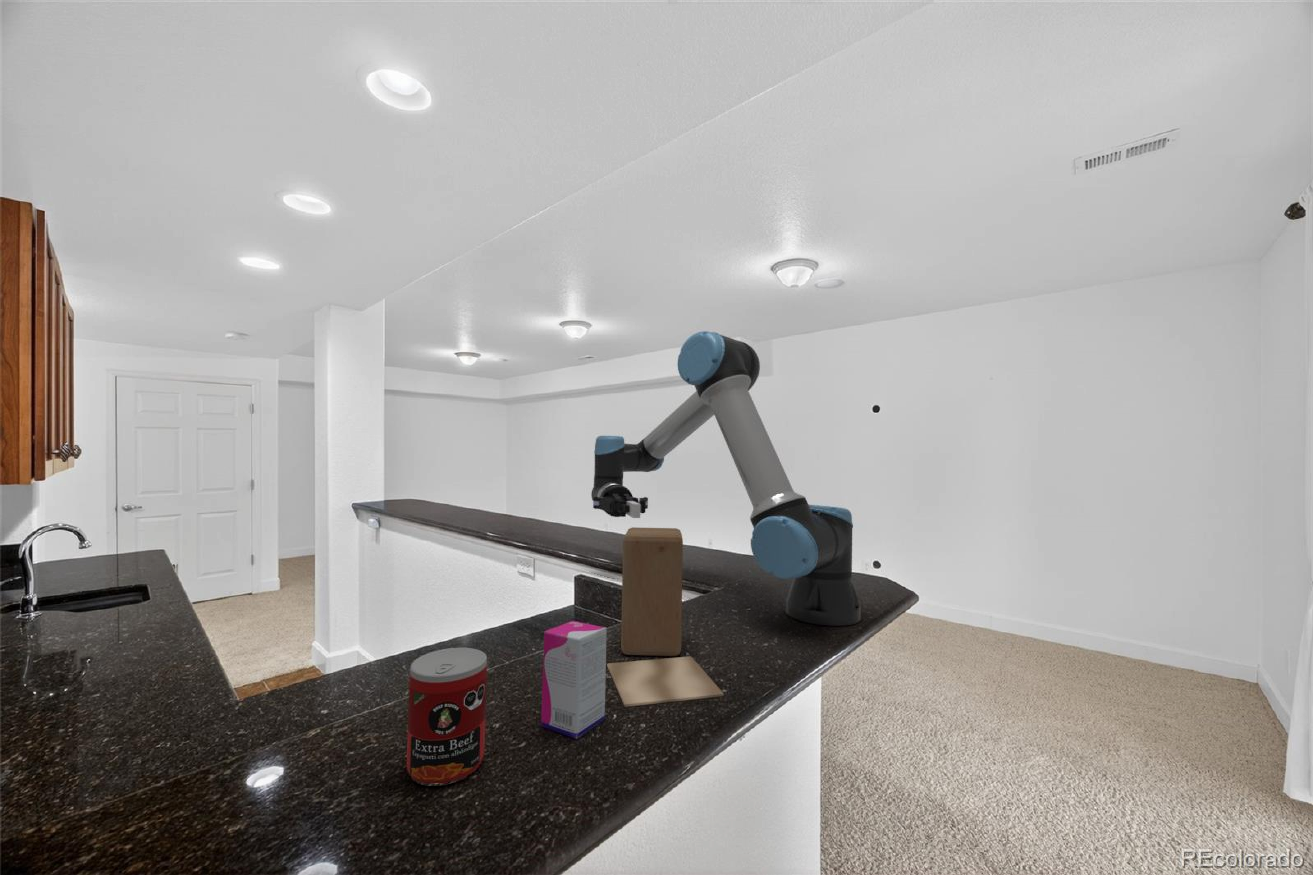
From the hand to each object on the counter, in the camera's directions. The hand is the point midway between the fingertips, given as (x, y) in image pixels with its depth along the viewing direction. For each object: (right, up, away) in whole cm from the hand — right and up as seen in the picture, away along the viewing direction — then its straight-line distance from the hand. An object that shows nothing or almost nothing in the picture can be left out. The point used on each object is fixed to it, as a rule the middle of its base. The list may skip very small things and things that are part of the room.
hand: (636, 511), depth 104 cm
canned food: (-18, -20, -49) cm, 56 cm away
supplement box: (-6, -21, -39) cm, 45 cm away
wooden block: (+3, -22, -13) cm, 26 cm away
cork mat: (+5, -21, -27) cm, 34 cm away
